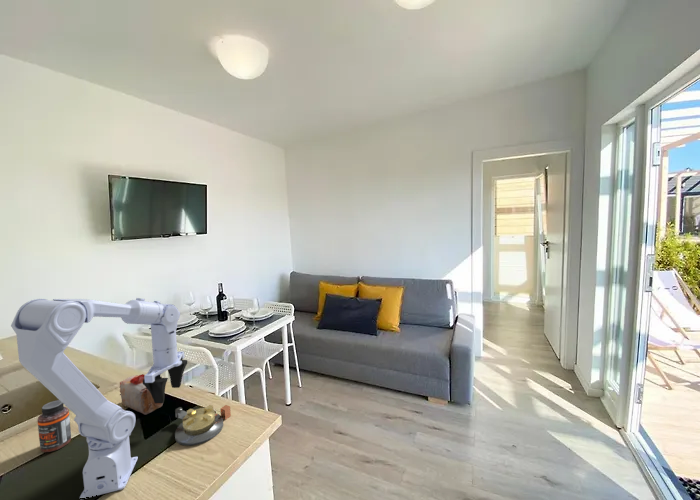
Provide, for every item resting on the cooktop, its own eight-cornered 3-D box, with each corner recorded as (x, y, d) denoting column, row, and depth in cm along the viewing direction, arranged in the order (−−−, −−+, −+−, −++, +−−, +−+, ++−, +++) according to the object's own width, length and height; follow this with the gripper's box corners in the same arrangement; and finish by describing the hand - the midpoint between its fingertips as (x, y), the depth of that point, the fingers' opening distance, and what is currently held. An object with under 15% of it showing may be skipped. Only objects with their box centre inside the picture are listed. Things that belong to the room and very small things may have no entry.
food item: (116, 406, 97) (114, 376, 96) (143, 393, 104) (140, 366, 104) (142, 418, 91) (139, 386, 90) (168, 403, 98) (166, 374, 97)
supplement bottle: (34, 456, 77) (29, 413, 76) (49, 440, 82) (45, 400, 81) (63, 450, 78) (58, 408, 77) (76, 435, 84) (72, 396, 83)
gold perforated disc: (222, 420, 87) (222, 408, 87) (196, 439, 79) (195, 426, 79) (190, 408, 93) (189, 397, 93) (163, 424, 85) (162, 413, 85)
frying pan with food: (195, 451, 77) (194, 440, 77) (165, 437, 82) (164, 427, 82) (238, 418, 90) (237, 408, 90) (209, 408, 95) (209, 399, 95)
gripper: (162, 358, 76) (166, 410, 77) (193, 337, 91) (196, 380, 92) (134, 358, 76) (138, 410, 78) (169, 337, 91) (172, 381, 92)
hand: (168, 394), depth 85 cm, fingers open, 7 cm apart
